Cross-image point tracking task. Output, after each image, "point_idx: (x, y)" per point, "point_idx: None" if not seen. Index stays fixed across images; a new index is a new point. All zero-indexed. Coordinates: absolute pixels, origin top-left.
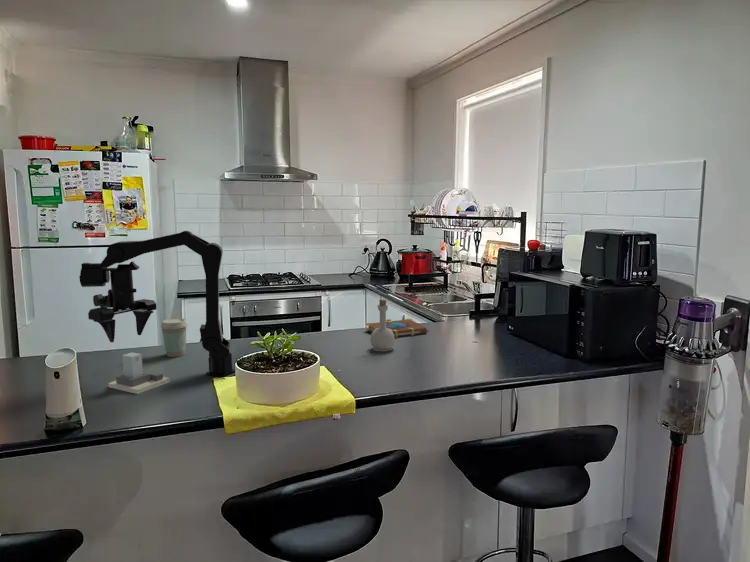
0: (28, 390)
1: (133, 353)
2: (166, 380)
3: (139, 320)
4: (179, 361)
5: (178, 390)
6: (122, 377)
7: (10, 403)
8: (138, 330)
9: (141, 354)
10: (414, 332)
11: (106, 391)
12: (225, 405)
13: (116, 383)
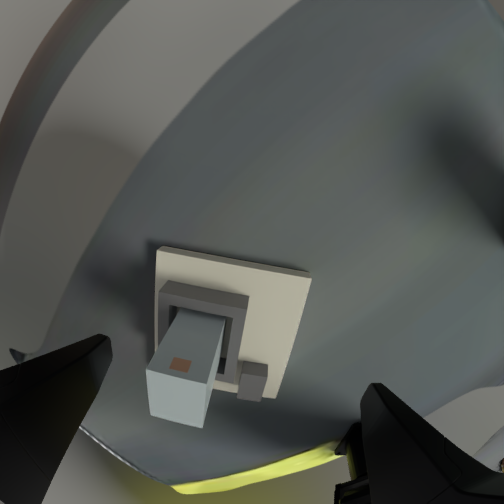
0: (78, 34)
1: (194, 399)
2: (263, 394)
3: (406, 497)
4: (472, 284)
5: (226, 428)
6: (160, 322)
7: (13, 101)
8: (375, 420)
9: (202, 427)
10: (502, 471)
11: (133, 268)
12: (198, 486)
13: (165, 282)
